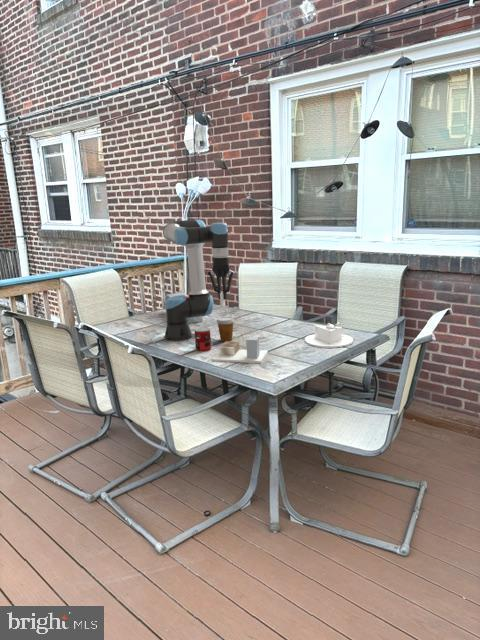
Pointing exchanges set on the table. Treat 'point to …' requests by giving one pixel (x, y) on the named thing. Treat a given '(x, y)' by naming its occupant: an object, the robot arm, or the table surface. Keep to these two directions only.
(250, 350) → the grey block
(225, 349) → the walnut block
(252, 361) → the board
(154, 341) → the table surface
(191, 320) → the soda pack
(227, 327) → the disposable coffee cup
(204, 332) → the canned food
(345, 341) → the dish
